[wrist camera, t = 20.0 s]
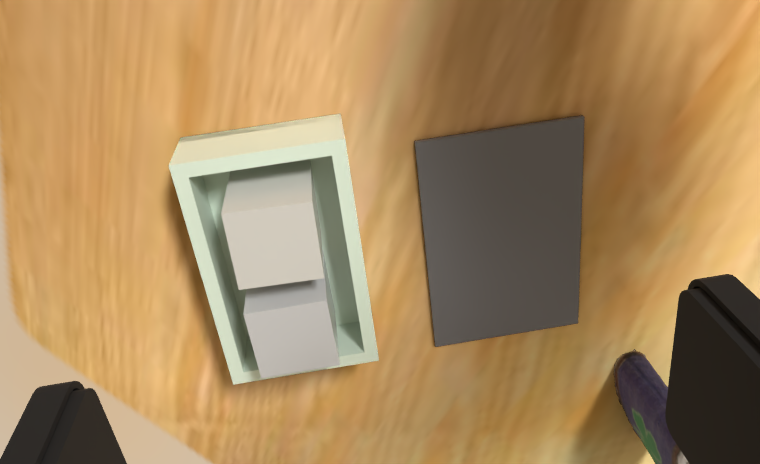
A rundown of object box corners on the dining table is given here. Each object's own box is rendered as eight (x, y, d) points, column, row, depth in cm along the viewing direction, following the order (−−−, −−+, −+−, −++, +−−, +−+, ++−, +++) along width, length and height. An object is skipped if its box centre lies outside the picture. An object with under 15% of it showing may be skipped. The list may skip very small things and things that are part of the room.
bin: (340, 113, 38) (345, 138, 34) (372, 322, 45) (379, 360, 41) (180, 137, 37) (168, 165, 34) (238, 344, 45) (233, 384, 41)
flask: (667, 427, 53) (747, 548, 44) (632, 441, 53) (703, 563, 44) (644, 344, 49) (726, 458, 39) (605, 359, 49) (678, 475, 39)
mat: (582, 115, 39) (584, 117, 39) (576, 320, 47) (578, 323, 46) (414, 140, 39) (415, 142, 39) (434, 344, 46) (435, 346, 46)
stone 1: (310, 159, 38) (312, 202, 33) (320, 229, 40) (324, 278, 35) (230, 169, 38) (220, 213, 33) (245, 239, 40) (238, 289, 35)
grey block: (323, 249, 41) (326, 300, 36) (335, 309, 43) (339, 365, 38) (249, 261, 41) (243, 314, 36) (265, 321, 43) (261, 378, 38)
